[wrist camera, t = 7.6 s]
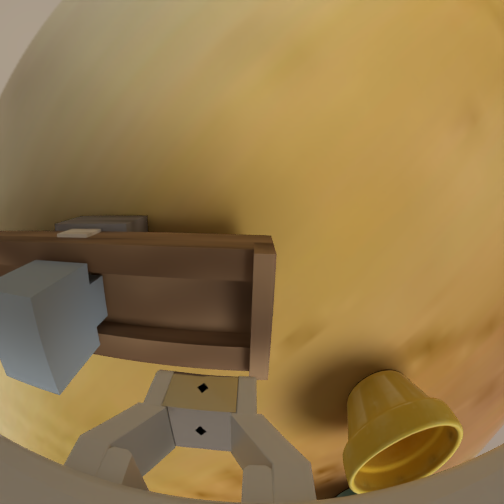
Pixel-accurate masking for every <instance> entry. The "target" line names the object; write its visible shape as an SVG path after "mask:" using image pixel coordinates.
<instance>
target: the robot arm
mask: <svg viewBox="0 0 504 504" xmlns="http://www.w3.org/2000/svg"><path fill="white" fill-rule="evenodd" d="M175 446H181V447H191V448H203V449H211V450H221V451H231V453H232V455H233V456H234V458H235V459H236V461H237V462H238V464H239V465H240V467H241V468H242V470H243V484H242V502H222V501H210V500H201V499H192V498H185V497H178V496H172V495H166V494H161V493H155V492H151V491H149V490H148V488H147V486H146V484H145V482H144V480H143V476H144V475H145V474H146V473H147V472H149V471H150V470H151V469H152V468H153V467H154V466H155V465H156V464H158V463H159V462H160V461H161V460H162V459H163V458H164V457H165V456H166V455H168V454H169V453H170V452H171V451H172V450H173V449H174V448H175ZM0 504H504V444H502V445H500V446H498V447H496V448H494V449H492V450H490V451H488V452H486V453H484V454H482V455H480V456H478V457H476V458H473V459H471V460H469V461H467V462H464V463H462V464H459V465H457V466H454V467H452V468H449V469H447V470H444V471H441V472H439V473H436V474H433V475H430V476H427V477H424V478H421V479H418V480H414V481H411V482H408V483H404V484H400V485H397V486H393V487H389V488H385V489H381V490H376V491H371V492H367V493H361V494H356V495H350V496H344V497H337V498H330V499H322V500H316V493H315V487H314V481H313V475H312V468H311V463H310V462H309V461H308V460H307V459H306V458H305V457H304V456H303V455H302V454H301V453H300V452H299V451H298V450H297V449H296V448H295V447H294V446H293V445H291V444H290V443H289V442H288V441H287V440H286V439H285V438H284V437H283V436H282V435H281V434H280V433H279V432H278V431H277V429H276V428H275V427H274V426H273V425H272V424H271V423H270V422H269V421H268V420H267V419H266V418H265V417H264V416H263V415H262V414H257V396H256V377H241V376H239V377H231V376H213V375H201V374H192V373H184V372H176V371H175V372H174V371H166V370H159V371H157V373H156V375H155V377H154V380H153V382H152V384H151V386H150V389H149V391H148V393H147V396H146V398H145V400H144V403H137V404H135V405H134V406H132V407H130V408H129V409H127V410H125V411H123V412H122V413H120V414H118V415H116V416H115V417H113V418H111V419H109V420H107V421H106V422H104V423H102V424H100V425H98V426H96V427H95V428H93V429H91V430H89V431H87V432H85V433H83V434H82V435H80V437H79V438H78V440H77V442H76V444H75V446H74V447H73V449H72V451H71V453H70V455H69V457H68V458H67V460H66V462H65V464H64V465H62V464H59V463H57V462H55V461H52V460H50V459H48V458H45V457H43V456H41V455H39V454H37V453H35V452H33V451H30V450H28V449H26V448H24V447H23V446H21V445H19V444H17V443H15V442H13V441H11V440H9V439H8V438H6V437H4V436H2V435H1V434H0Z"/></svg>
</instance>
